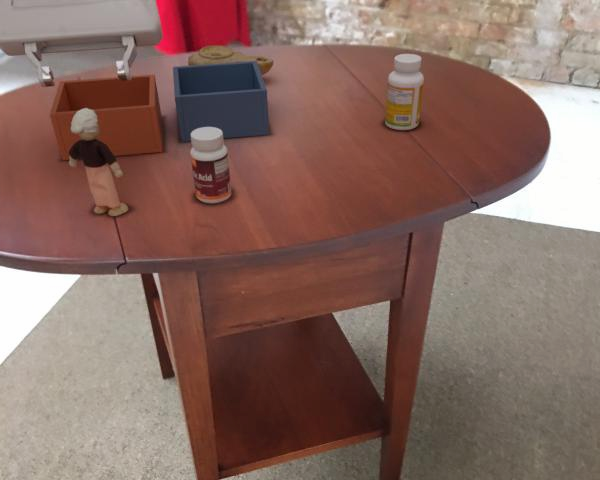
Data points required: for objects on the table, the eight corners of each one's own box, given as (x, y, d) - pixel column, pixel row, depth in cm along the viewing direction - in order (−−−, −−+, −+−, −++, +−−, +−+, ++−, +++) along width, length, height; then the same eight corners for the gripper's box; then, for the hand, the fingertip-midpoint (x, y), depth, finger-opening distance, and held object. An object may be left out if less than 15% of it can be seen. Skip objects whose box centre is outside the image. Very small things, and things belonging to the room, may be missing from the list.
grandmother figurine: (140, 204, 83) (119, 105, 74) (129, 219, 81) (105, 117, 72) (86, 199, 85) (59, 101, 76) (73, 214, 82) (43, 113, 73)
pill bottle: (188, 197, 84) (179, 134, 79) (213, 184, 87) (205, 122, 81) (215, 208, 82) (207, 144, 76) (239, 193, 85) (233, 130, 79)
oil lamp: (276, 84, 114) (275, 53, 111) (198, 94, 111) (194, 63, 107) (260, 65, 121) (258, 36, 118) (186, 75, 118) (182, 45, 115)
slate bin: (181, 142, 97) (174, 97, 92) (179, 108, 107) (172, 66, 102) (269, 134, 98) (266, 90, 94) (259, 102, 108) (256, 60, 103)
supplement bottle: (403, 114, 103) (410, 49, 96) (425, 125, 100) (434, 58, 93) (377, 122, 101) (382, 56, 94) (399, 134, 98) (405, 66, 91)
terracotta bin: (62, 160, 93) (49, 114, 89) (71, 124, 103) (59, 81, 98) (162, 152, 95) (154, 106, 90) (161, 117, 104) (154, 74, 100)
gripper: (-27, -43, 74) (-11, 74, 74) (150, -53, 76) (165, 61, 76) (-6, -8, 80) (8, 100, 80) (156, -18, 82) (170, 87, 83)
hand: (86, 81), depth 78 cm, fingers open, 8 cm apart
